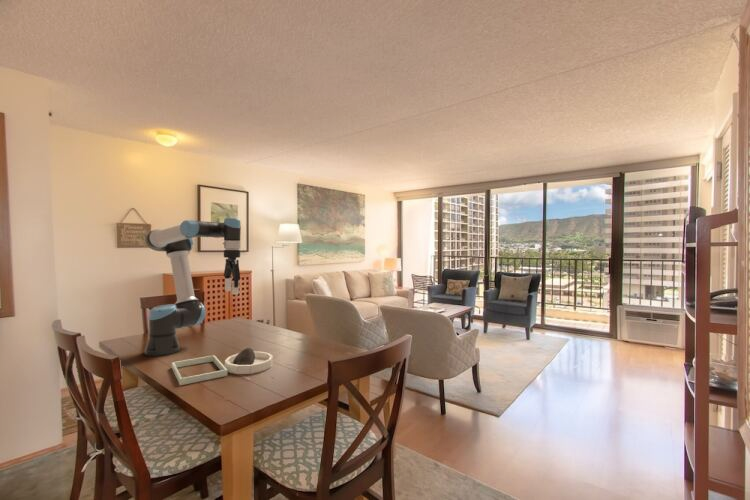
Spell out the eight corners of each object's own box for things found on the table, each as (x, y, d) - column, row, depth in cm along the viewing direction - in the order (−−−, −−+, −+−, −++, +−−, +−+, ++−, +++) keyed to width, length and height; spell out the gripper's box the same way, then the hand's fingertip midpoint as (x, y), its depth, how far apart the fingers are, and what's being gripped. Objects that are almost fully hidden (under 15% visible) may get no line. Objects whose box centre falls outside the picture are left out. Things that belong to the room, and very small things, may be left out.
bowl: (220, 363, 159) (220, 356, 158) (263, 356, 171) (263, 349, 171) (232, 377, 143) (232, 369, 143) (278, 367, 155) (278, 360, 155)
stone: (238, 377, 150) (255, 361, 151) (226, 362, 151) (243, 346, 152) (247, 372, 160) (263, 357, 161) (235, 359, 161) (252, 344, 162)
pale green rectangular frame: (171, 367, 153) (171, 362, 152) (214, 360, 163) (214, 355, 163) (179, 385, 134) (180, 378, 134) (227, 375, 144) (227, 369, 144)
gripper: (217, 249, 176) (217, 290, 176) (231, 249, 156) (230, 296, 156) (233, 249, 181) (232, 289, 181) (247, 250, 161) (247, 295, 161)
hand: (231, 292), depth 169 cm, fingers open, 13 cm apart
